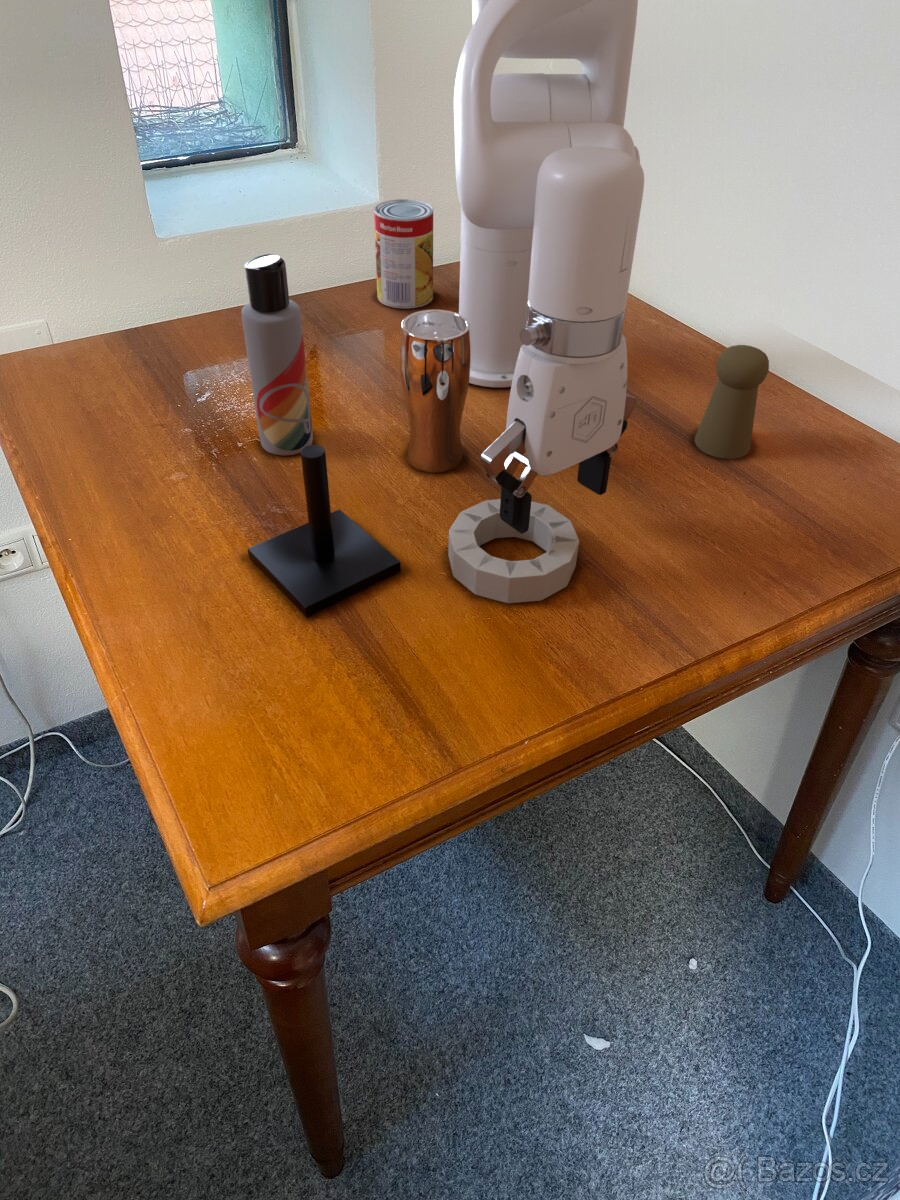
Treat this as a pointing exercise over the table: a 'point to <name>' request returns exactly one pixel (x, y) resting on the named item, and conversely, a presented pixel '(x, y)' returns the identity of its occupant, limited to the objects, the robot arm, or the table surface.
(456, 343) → the beer glass
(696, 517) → the table surface
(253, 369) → the lotion bottle
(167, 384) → the table surface
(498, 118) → the robot arm
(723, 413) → the olive pawn figure
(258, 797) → the table surface
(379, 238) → the canned food
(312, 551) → the post
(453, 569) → the tape roll
